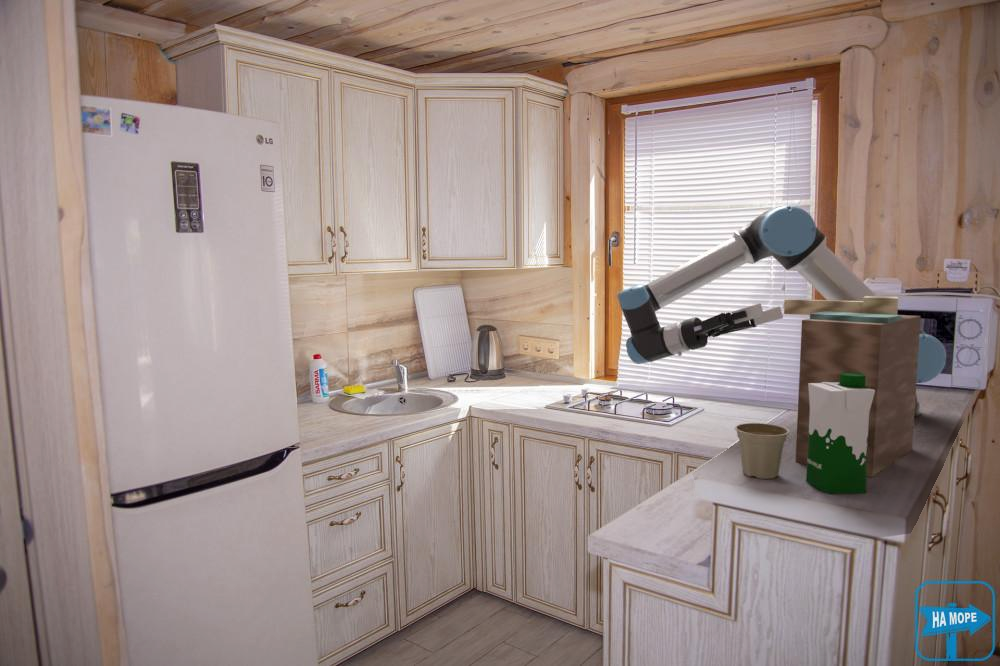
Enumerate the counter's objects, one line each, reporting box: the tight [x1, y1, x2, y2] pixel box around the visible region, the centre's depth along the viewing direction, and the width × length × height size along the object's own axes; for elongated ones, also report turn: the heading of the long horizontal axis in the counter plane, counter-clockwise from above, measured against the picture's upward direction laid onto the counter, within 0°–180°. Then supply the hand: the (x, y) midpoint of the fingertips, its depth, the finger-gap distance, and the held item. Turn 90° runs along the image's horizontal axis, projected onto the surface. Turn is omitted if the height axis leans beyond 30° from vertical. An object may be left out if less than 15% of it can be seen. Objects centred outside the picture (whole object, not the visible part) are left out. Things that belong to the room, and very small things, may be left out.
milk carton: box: [805, 372, 875, 495], centre depth 123 cm, size 9×9×20 cm
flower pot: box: [734, 422, 790, 480], centre depth 131 cm, size 9×9×9 cm
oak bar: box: [783, 295, 899, 316], centre depth 147 cm, size 21×6×4 cm, turn 60°
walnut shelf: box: [795, 311, 921, 478], centre depth 143 cm, size 14×26×29 cm, turn 136°
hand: (772, 310), depth 162 cm, fingers open, 13 cm apart
